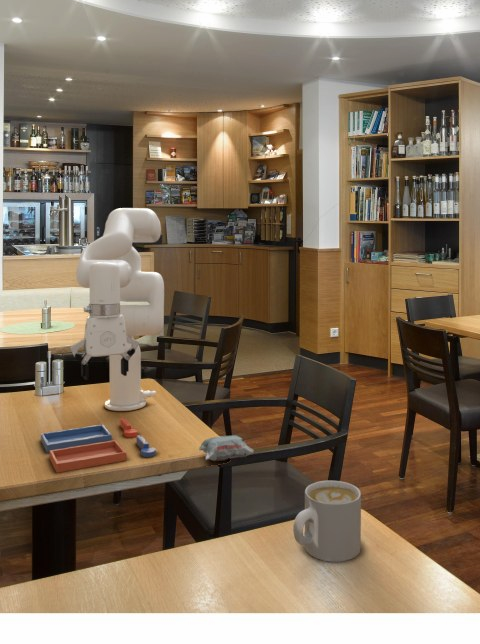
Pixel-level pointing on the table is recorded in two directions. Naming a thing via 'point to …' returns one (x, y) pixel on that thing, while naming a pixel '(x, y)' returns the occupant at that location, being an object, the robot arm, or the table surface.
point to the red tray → (87, 456)
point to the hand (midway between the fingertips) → (105, 376)
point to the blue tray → (75, 437)
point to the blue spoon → (145, 447)
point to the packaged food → (225, 448)
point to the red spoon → (128, 428)
